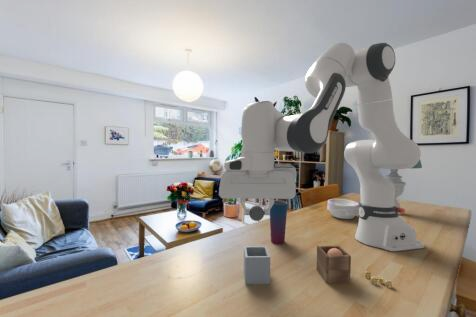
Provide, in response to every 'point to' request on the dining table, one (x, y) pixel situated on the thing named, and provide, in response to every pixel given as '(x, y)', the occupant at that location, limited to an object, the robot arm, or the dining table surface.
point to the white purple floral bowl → (343, 208)
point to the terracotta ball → (334, 252)
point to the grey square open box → (256, 265)
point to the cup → (278, 221)
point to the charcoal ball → (256, 213)
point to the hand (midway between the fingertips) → (256, 214)
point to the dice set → (380, 280)
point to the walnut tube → (333, 265)
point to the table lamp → (398, 183)
